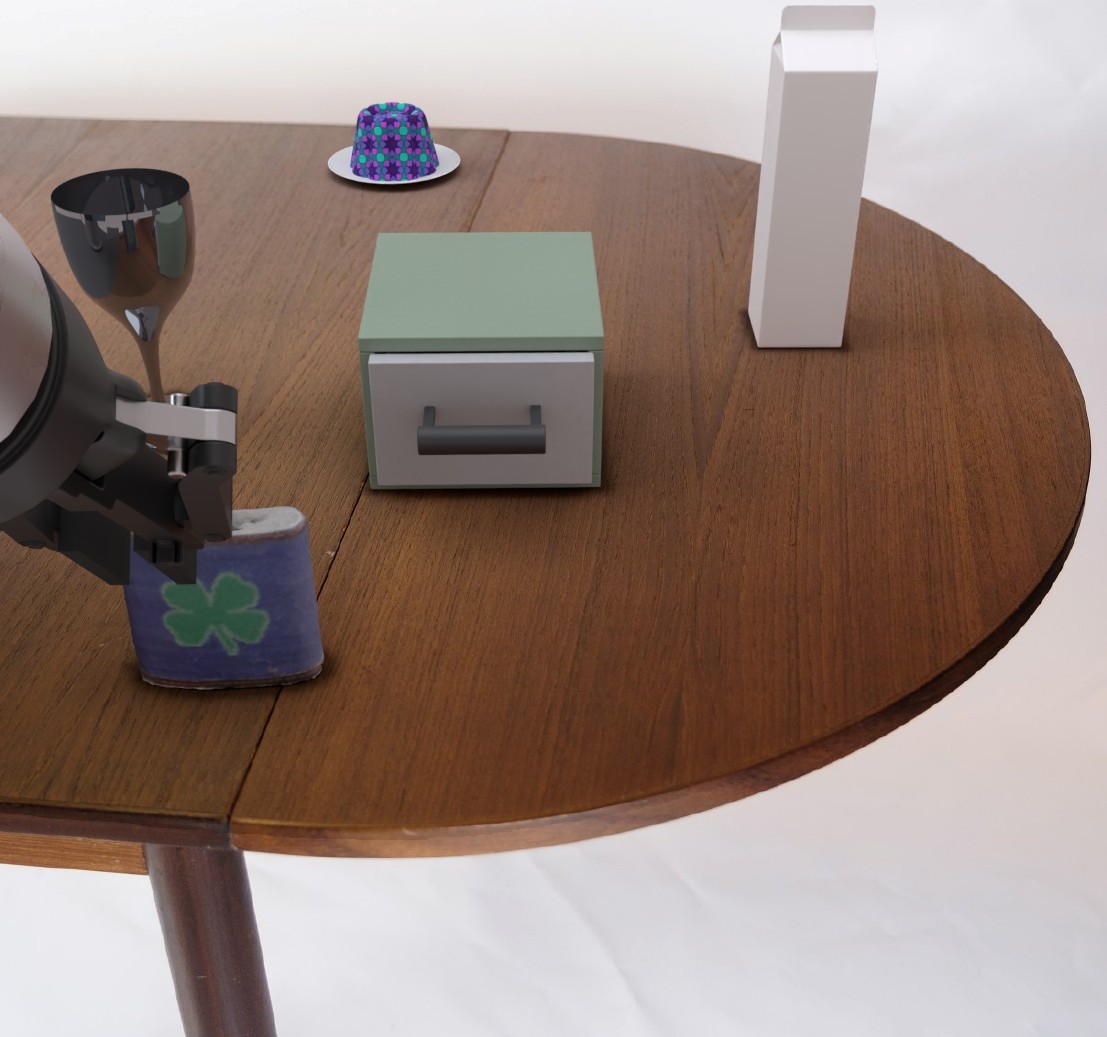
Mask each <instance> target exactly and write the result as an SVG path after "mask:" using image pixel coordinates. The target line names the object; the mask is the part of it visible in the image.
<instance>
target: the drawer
mask: <svg viewBox="0 0 1107 1037" xmlns="http://www.w3.org/2000/svg"><path fill="white" fill-rule="evenodd" d="M368 368H369V380H370V392H371V405H372V417H373V429H374V441H375V453H376V466H377V478H378V485H379V486H399V485H498V484H590V483H592V450H593V404H594V354H593V353H592V352H578V350H553V351H429V352H386V354H370V356H369V362H368Z"/></svg>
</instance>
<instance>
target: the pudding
mask: <svg viewBox="0 0 1107 1037" xmlns="http://www.w3.org/2000/svg"><path fill="white" fill-rule="evenodd" d="M426 115H427V114H426V113H425V112H424V110H422V108H421V107H418V106H416V105H415V104H412V103H407V102H398V101H391V102H390V101H388V102H384V103H373V104H371V105H369V106H367V107H364V108H362V109H361V110H360V111H359V113H358V115H357V118H356V126H355V132H354V137H353V144H352V145H351V146H348V147H345V148H343V149H340V150H338V151H337V152H335V153H333V154H332V155H331V156H330V157H329V159H328V161H327V167H328V168H329V169H330V171H331V172H333V173H334V174H336V175H337V176H339V177H342V178H345V179H348V180H351V181H355V182H360V183H367V184H376V185H403V184H412V183H419V182H425V181H429V180H433V179H436V178H440V177H442V176H445V175H447V174H449V173H451V172H453V171H454V170H455V169H457V168H458V166H459V165H460V163H461V157H460V155H459V154H458V153H457V151H455V150H454V149H451V148H449V147H447V146H445V145H442V144H438V143H435V142H434V139H433V136H432V133H431V130H430V125H429V122H428V118H427V116H426Z"/></svg>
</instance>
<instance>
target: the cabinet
mask: <svg viewBox="0 0 1107 1037" xmlns="http://www.w3.org/2000/svg"><path fill="white" fill-rule="evenodd" d="M376 236H377V237H376V243H375V247H374V252H373V257H372V263H371V269H370V274H369V279H368V284H367V289H366V294H365V300H364V304H363V308H362V315H361V321H360V324H359V331H358V336H357V345H358V347H357V348H358V357H359V369H360V370H359V371H360V382H361V394H362V405H363V406H362V407H363V414H364V415H363V417H364V427H365V428H364V430H365V440H366V451H367V463H368V476H369V485H370V489H371V490H430V489H431V490H435V489H436V490H439V489H441V490H442V489H443V490H445V489H530V488H531V489H533V488H534V489H535V488H536V489H539V488H541V489H542V488H543V489H545V488H546V489H547V488H600V487H601V481H602V480H601V479H602V474H601V473H602V447H603V446H602V445H603V444H602V442H603V409H604V408H603V406H604V374H605V373H604V372H605V371H604V369H605V330H604V329H605V328H604V321H603V314H602V305H601V298H600V292H599V281H598V273H597V265H596V258H595V249H594V241H593V233H592V231H490V232H489V231H486V232H485V231H481V232H479V231H478V232H477V231H476V232H473V231H472V232H468V231H467V232H464V231H463V232H461V231H460V232H379V233H377V235H376ZM553 350H578V352H592V353H593V354H594V404H593V450H592V483H590V484H498V485H399V486H379V485H378V478H377V466H376V453H375V441H374V429H373V417H372V405H371V392H370V380H369V368H368V362H369V356H370V354H386V352H429V351H553Z"/></svg>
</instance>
